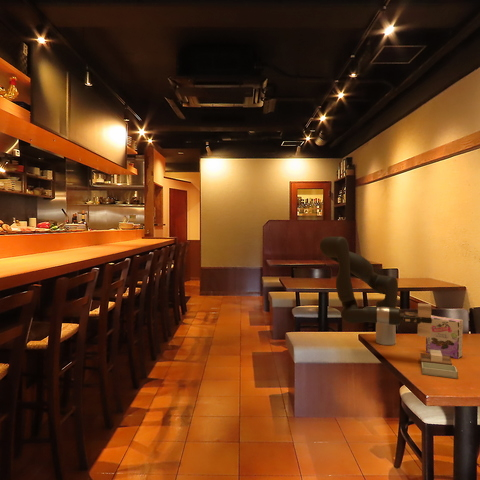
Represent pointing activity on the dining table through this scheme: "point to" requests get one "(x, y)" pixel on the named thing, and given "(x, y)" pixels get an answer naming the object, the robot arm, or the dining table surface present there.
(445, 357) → the flat square baseboard
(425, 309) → the block
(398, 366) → the dining table surface
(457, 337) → the candy box
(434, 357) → the tile
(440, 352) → the tile
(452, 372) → the tray
